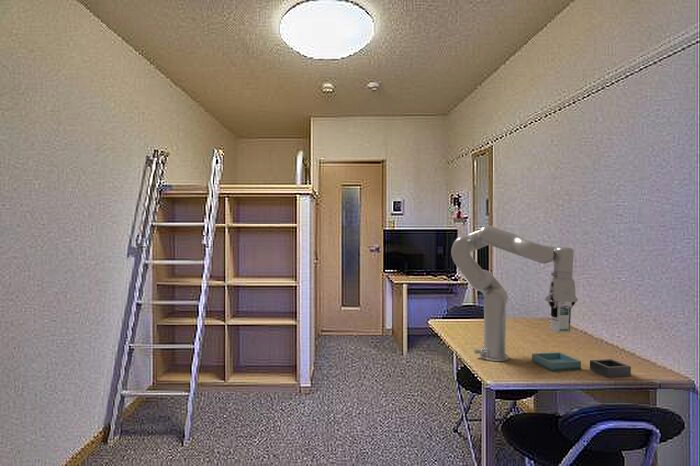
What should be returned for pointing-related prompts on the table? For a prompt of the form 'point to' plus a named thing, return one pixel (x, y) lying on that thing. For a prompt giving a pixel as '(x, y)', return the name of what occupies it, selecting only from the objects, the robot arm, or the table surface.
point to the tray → (556, 361)
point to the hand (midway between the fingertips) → (560, 316)
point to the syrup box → (562, 318)
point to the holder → (610, 368)
